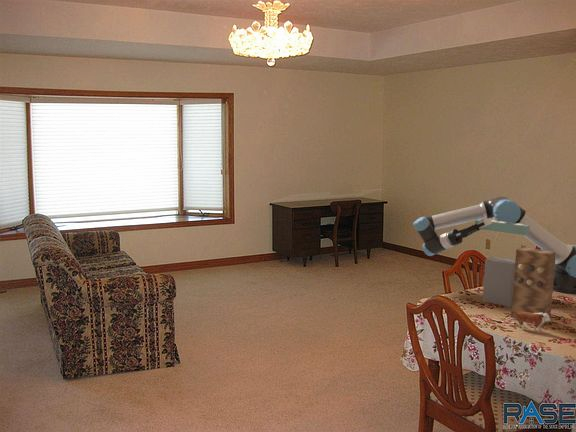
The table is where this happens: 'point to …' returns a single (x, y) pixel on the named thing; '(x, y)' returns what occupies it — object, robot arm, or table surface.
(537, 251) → the walnut stand
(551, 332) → the table surface
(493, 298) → the grey plinth
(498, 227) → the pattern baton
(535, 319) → the bull figurine
